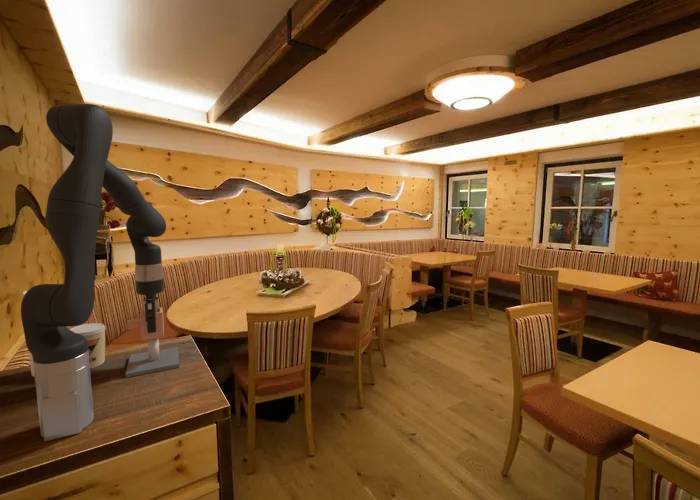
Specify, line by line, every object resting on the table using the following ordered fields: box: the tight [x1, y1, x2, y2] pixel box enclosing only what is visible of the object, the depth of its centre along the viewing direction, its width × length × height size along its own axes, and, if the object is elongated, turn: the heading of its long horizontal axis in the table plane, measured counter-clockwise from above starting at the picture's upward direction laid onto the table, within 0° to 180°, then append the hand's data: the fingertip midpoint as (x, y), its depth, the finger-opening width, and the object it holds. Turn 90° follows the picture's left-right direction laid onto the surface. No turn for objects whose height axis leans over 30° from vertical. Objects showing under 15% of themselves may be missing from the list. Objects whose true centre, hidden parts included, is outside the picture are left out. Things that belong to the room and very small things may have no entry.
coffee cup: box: [69, 322, 106, 369], centre depth 101 cm, size 9×9×12 cm
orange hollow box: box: [126, 306, 165, 341], centre depth 101 cm, size 6×10×8 cm, turn 119°
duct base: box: [124, 337, 180, 378], centre depth 104 cm, size 14×14×8 cm
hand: (152, 328), depth 103 cm, fingers closed on orange hollow box, 6 cm apart
